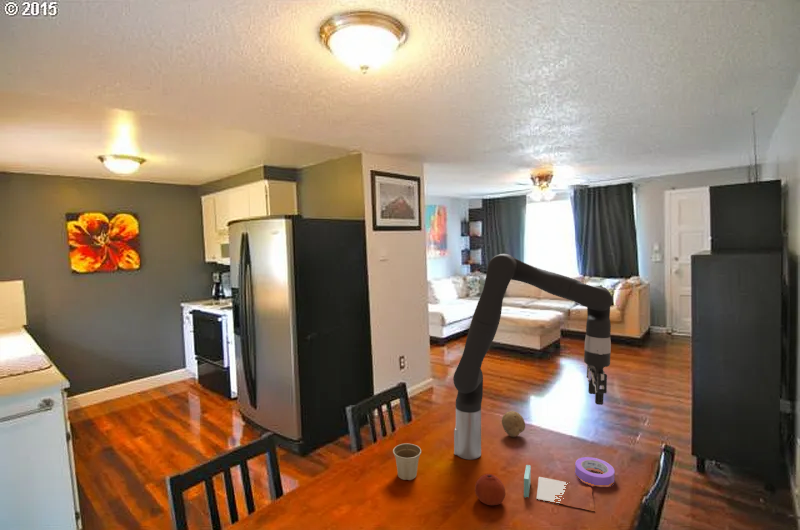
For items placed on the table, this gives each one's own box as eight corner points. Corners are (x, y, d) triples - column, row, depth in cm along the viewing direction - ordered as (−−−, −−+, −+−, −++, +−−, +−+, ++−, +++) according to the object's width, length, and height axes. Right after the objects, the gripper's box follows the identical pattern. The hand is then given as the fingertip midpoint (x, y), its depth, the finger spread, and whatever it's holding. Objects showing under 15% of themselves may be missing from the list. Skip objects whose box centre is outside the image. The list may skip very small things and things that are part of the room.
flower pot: (425, 471, 139) (425, 446, 138) (414, 486, 131) (414, 460, 130) (400, 465, 143) (400, 441, 142) (388, 479, 135) (388, 454, 134)
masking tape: (619, 490, 128) (619, 478, 127) (579, 486, 130) (579, 474, 130) (608, 469, 139) (608, 458, 139) (571, 466, 141) (571, 455, 141)
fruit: (472, 492, 127) (472, 467, 127) (501, 492, 127) (501, 467, 126) (477, 511, 118) (477, 485, 118) (508, 511, 118) (508, 485, 118)
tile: (523, 497, 125) (523, 478, 124) (526, 482, 132) (526, 464, 132) (528, 498, 124) (528, 479, 124) (530, 483, 132) (530, 465, 131)
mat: (536, 499, 123) (536, 498, 123) (538, 477, 134) (538, 476, 134) (595, 512, 117) (595, 511, 117) (592, 488, 128) (592, 487, 128)
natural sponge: (515, 429, 168) (515, 405, 168) (530, 438, 160) (530, 414, 160) (497, 433, 165) (497, 409, 164) (511, 443, 157) (511, 418, 156)
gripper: (579, 343, 138) (578, 389, 139) (590, 355, 124) (588, 406, 125) (603, 344, 137) (601, 391, 138) (617, 356, 123) (614, 409, 124)
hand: (595, 398), depth 132 cm, fingers open, 8 cm apart
